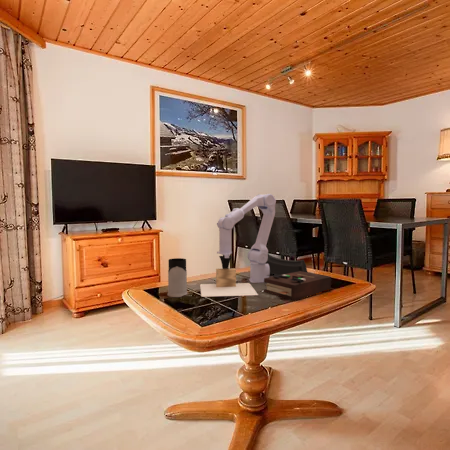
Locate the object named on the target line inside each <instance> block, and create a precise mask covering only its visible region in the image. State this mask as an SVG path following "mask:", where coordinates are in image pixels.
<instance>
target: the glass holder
mask: <svg viewBox="0 0 450 450" xmlns="http://www.w3.org/2000/svg"><path fill="white" fill-rule="evenodd" d="M187 275H188V271H187V259H186V258H180V257H178V258H177V257H176V258H175V257H174V258H169V259H168V270H167V278H168V279H167V280H168V281H167V282H168V283H167V285H168V287H167V289H168V290H167V296H168V297H170V298H182V297H183V296H187V295H188V287H187V286H188V285H187V283H188V281H187V279H188V278H187Z"/></svg>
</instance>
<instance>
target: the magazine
mask: <svg viewBox="0 0 450 450" xmlns="http://www.w3.org/2000/svg"><path fill="white" fill-rule="evenodd" d="M265 264H269V268H270V275H273V274H274V275H283V274H288V273H293V272H298V271H302V272H308V269H307V264H306V262H305V260H304V259H300V260H290V259H283V258H278V257H275V256H273V255H270V254H269V253H268V260H267V262H266V263H265Z"/></svg>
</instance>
